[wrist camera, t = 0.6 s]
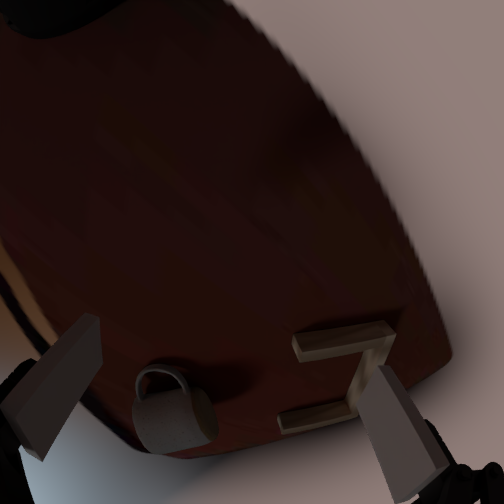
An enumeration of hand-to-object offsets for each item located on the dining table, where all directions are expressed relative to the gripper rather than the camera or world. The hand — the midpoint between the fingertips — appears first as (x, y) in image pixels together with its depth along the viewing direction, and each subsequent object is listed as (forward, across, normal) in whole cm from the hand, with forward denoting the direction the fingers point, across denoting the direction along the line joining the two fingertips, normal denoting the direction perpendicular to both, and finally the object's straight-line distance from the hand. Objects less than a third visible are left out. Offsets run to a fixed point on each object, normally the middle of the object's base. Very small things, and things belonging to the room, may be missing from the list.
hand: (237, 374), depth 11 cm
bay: (+18, +14, -14) cm, 27 cm away
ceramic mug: (+15, -6, -17) cm, 23 cm away
